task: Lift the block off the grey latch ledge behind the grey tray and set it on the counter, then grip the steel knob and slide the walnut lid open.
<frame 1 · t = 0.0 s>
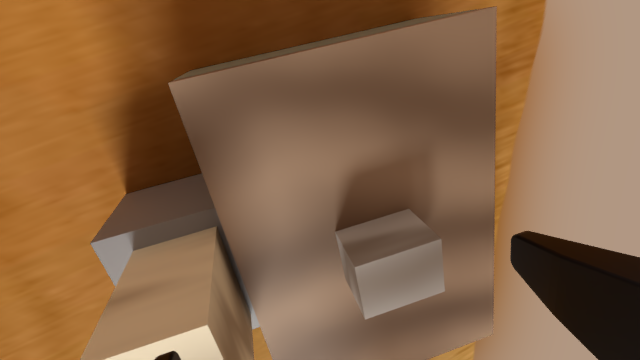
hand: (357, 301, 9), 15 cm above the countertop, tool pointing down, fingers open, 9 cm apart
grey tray: (338, 192, 24), on the countertop
block: (197, 285, 18), point 6 cm above the countertop, touching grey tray
lid: (384, 254, 17), point 8 cm above the countertop, slide at 0.0 cm
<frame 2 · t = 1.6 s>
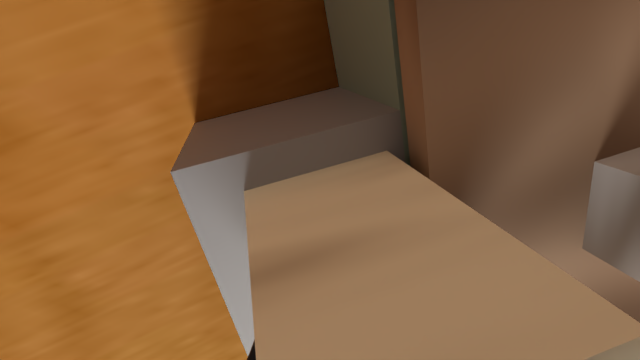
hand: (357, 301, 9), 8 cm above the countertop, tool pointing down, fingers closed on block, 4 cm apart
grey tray: (487, 134, 17), on the countertop
block: (337, 259, 10), point 6 cm above the countertop, touching gripper, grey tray
when the fingers open (3 cm above the countertop, at t = 5.8 s): block drops 1 cm, on the countertop.
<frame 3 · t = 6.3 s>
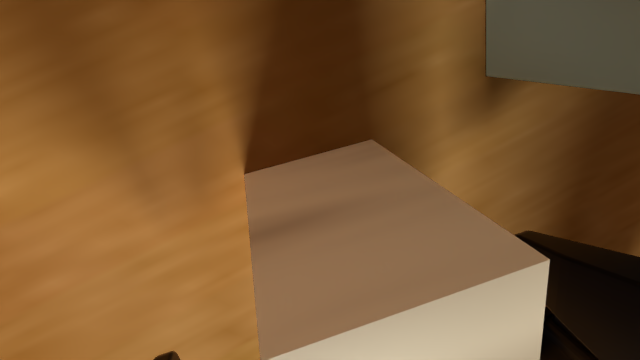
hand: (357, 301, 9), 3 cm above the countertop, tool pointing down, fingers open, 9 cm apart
block: (328, 238, 11), on the countertop
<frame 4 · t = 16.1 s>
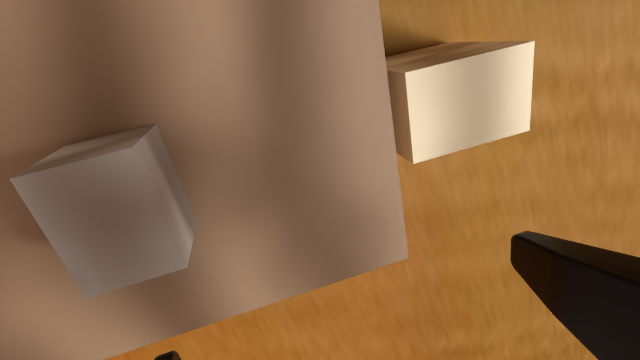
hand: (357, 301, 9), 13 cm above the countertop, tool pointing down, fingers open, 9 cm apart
block: (404, 87, 21), on the countertop
lid: (127, 198, 11), point 8 cm above the countertop, slide at 12.4 cm
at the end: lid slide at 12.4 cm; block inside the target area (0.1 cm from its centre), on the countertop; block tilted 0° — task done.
